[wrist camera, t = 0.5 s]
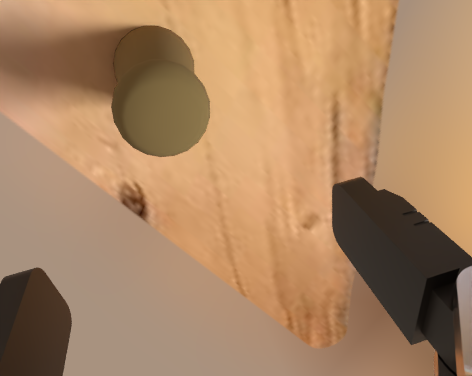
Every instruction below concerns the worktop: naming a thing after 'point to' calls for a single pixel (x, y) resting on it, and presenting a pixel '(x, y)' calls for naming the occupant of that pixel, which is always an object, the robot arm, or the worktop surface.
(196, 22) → the worktop surface
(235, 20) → the worktop surface
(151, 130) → the cork
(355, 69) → the worktop surface
